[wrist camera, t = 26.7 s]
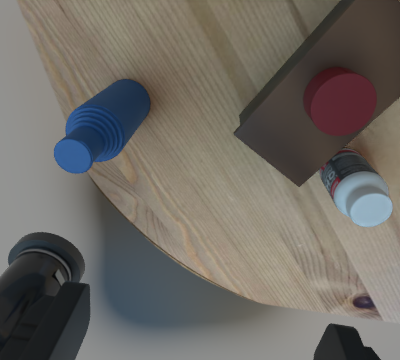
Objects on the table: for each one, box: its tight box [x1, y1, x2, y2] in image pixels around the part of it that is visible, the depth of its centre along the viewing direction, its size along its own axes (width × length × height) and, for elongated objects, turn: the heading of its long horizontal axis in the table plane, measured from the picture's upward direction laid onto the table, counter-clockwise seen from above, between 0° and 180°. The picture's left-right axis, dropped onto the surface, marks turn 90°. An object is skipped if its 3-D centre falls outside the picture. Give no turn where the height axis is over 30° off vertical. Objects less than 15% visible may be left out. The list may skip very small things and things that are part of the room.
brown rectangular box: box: [234, 0, 400, 187], centre depth 33 cm, size 17×9×7 cm, turn 142°
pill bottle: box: [319, 148, 393, 227], centre depth 36 cm, size 5×5×10 cm
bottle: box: [54, 79, 150, 173], centre depth 31 cm, size 5×5×16 cm
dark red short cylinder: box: [303, 67, 377, 136], centre depth 29 cm, size 5×5×3 cm
